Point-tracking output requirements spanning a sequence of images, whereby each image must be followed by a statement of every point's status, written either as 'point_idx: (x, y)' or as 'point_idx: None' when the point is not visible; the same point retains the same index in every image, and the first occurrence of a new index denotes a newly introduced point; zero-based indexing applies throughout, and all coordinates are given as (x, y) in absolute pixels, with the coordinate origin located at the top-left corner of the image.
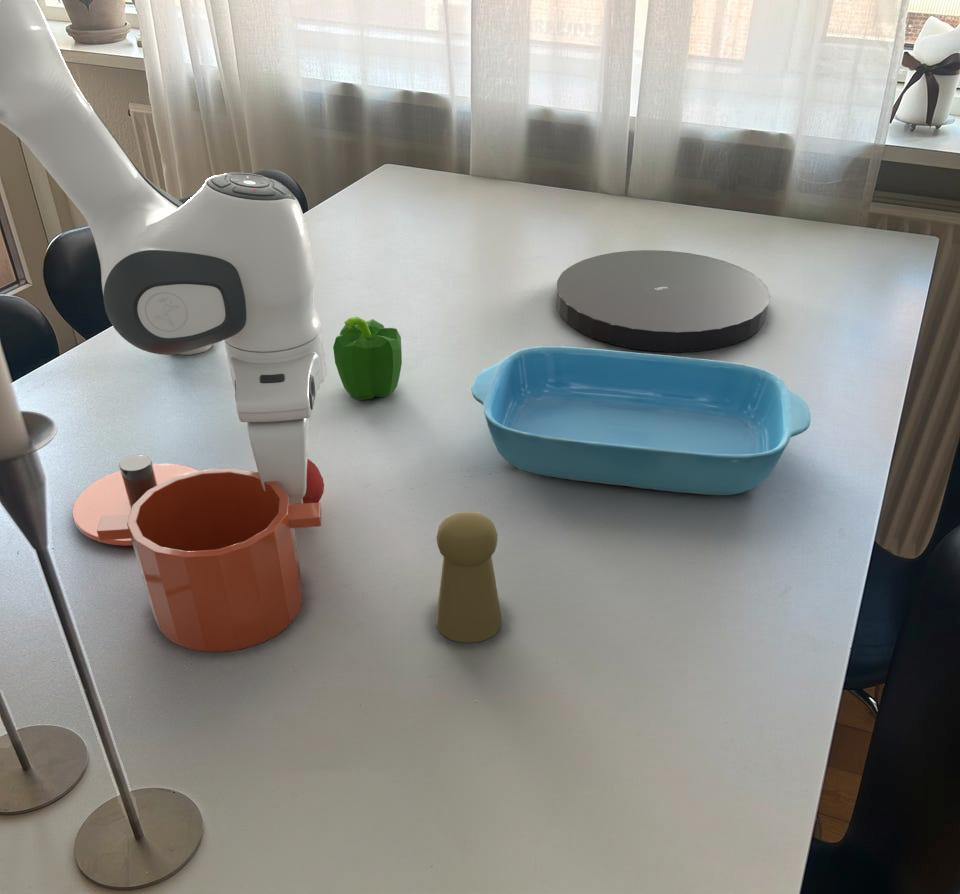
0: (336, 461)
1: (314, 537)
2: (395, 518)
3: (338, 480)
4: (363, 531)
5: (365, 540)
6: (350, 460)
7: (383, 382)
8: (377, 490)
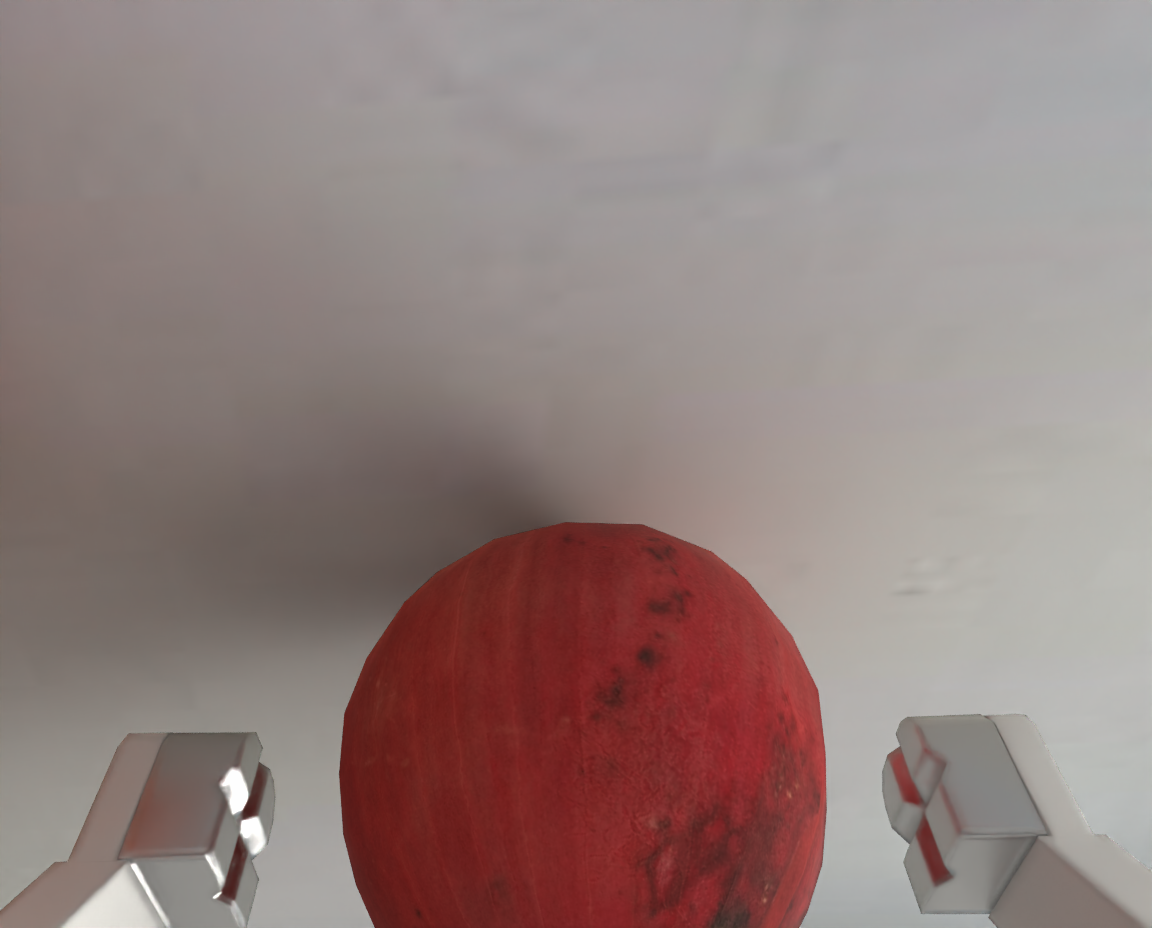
0: (1136, 687)
1: (332, 624)
2: None
3: (921, 699)
4: None
5: (317, 797)
6: (1106, 737)
7: None
8: None
